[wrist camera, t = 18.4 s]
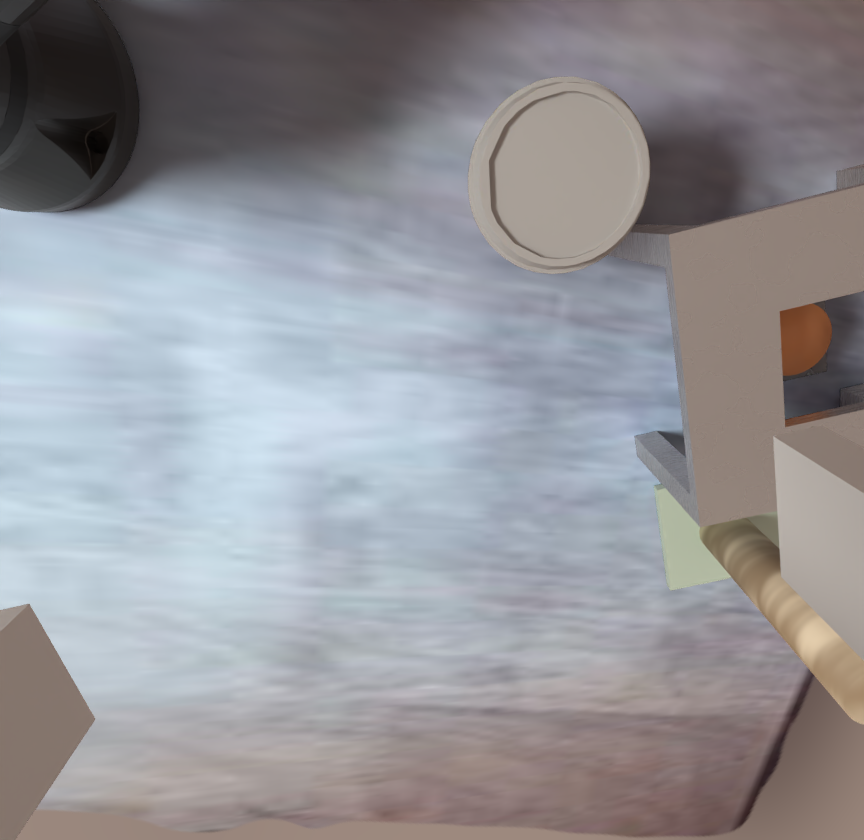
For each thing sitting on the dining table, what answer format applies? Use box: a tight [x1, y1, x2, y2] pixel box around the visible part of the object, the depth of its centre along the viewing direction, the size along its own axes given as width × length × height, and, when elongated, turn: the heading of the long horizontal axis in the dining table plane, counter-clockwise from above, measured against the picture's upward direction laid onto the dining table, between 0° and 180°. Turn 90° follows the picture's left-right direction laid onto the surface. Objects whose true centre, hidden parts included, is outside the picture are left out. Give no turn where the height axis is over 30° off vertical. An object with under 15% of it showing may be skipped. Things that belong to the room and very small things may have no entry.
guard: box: [608, 164, 864, 527], centre depth 38 cm, size 18×18×12 cm
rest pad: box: [654, 484, 779, 590], centre depth 49 cm, size 10×10×1 cm
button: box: [780, 304, 832, 376], centre depth 40 cm, size 5×5×6 cm
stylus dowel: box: [699, 518, 864, 724], centre depth 40 cm, size 4×4×18 cm
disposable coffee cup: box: [468, 77, 650, 274], centre depth 35 cm, size 10×10×12 cm
